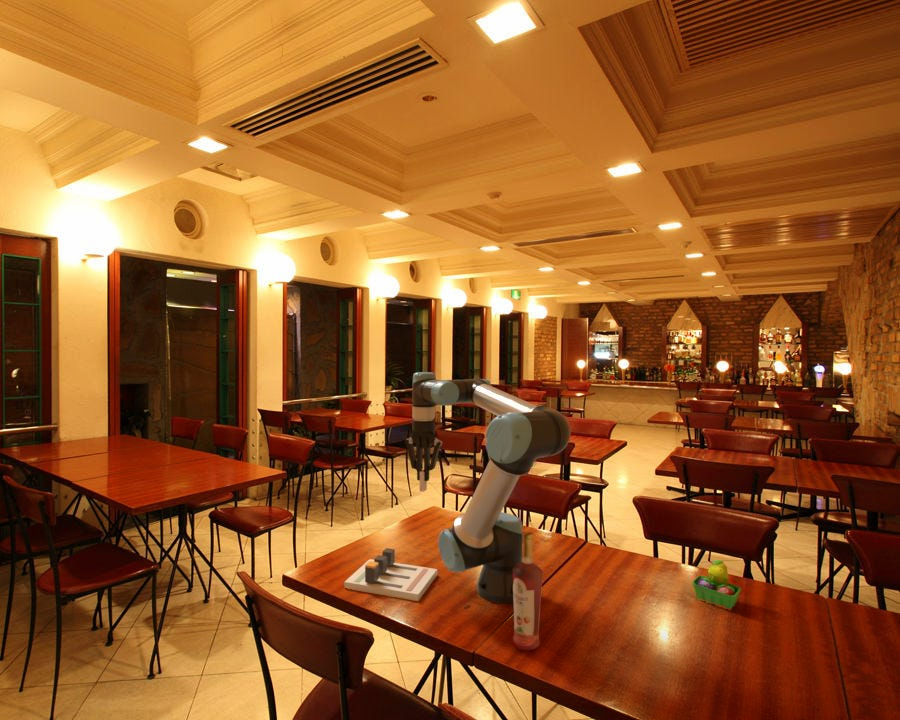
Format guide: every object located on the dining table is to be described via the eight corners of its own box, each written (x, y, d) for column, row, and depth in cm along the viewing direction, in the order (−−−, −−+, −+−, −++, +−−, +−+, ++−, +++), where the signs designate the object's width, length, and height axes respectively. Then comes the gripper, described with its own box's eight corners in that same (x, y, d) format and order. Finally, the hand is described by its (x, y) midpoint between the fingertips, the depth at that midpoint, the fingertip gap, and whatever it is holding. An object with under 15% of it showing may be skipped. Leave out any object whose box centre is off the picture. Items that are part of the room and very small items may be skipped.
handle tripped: (378, 579, 150) (378, 562, 150) (374, 583, 148) (374, 566, 147) (369, 577, 151) (369, 561, 151) (365, 581, 148) (365, 565, 148)
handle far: (394, 562, 162) (394, 549, 162) (390, 566, 159) (390, 552, 159) (386, 561, 163) (386, 548, 163) (382, 565, 160) (382, 551, 160)
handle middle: (386, 570, 156) (387, 556, 156) (382, 574, 153) (383, 560, 153) (378, 569, 157) (378, 555, 157) (374, 573, 154) (374, 559, 154)
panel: (437, 575, 159) (437, 568, 159) (418, 601, 142) (418, 593, 142) (369, 564, 166) (369, 558, 166) (344, 588, 149) (344, 581, 149)
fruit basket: (690, 599, 145) (691, 562, 145) (700, 589, 151) (701, 553, 151) (733, 614, 137) (734, 574, 137) (742, 603, 143) (743, 565, 143)
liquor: (547, 646, 122) (548, 534, 121) (529, 659, 116) (531, 542, 116) (523, 633, 127) (524, 526, 126) (505, 645, 122) (506, 533, 121)
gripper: (446, 418, 163) (445, 489, 164) (409, 416, 167) (409, 485, 168) (438, 421, 156) (438, 495, 157) (400, 419, 160) (400, 491, 160)
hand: (423, 490), depth 162 cm, fingers closed
